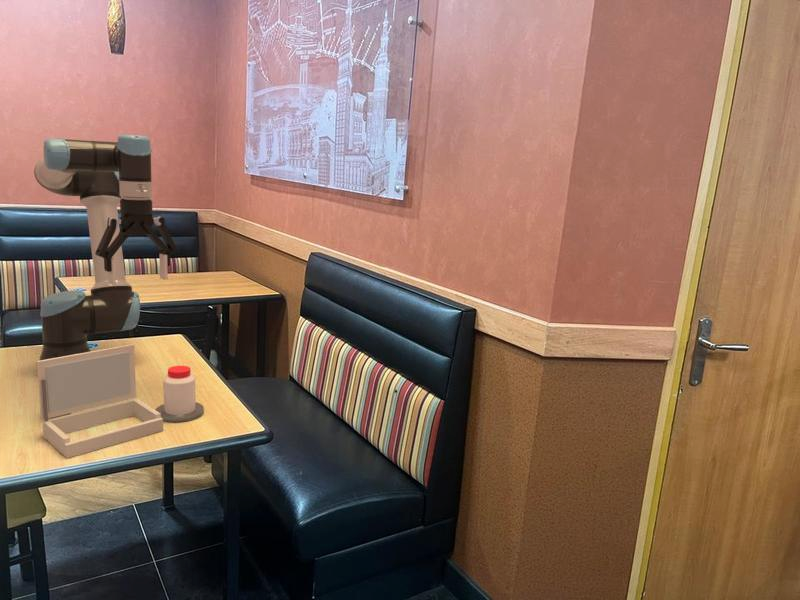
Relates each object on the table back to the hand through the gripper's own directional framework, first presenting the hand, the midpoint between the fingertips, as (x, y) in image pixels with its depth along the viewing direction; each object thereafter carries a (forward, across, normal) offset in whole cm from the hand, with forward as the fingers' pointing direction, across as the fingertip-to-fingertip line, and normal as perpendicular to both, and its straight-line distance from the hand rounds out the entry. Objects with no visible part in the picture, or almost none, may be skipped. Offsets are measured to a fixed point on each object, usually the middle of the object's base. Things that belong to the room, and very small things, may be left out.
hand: (138, 281), depth 163 cm
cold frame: (+33, -16, -14) cm, 39 cm away
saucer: (+33, +3, -14) cm, 36 cm away
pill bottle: (+32, +3, -14) cm, 35 cm away
